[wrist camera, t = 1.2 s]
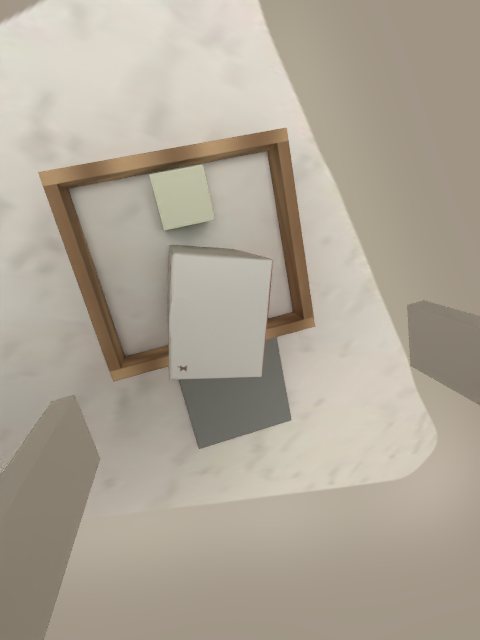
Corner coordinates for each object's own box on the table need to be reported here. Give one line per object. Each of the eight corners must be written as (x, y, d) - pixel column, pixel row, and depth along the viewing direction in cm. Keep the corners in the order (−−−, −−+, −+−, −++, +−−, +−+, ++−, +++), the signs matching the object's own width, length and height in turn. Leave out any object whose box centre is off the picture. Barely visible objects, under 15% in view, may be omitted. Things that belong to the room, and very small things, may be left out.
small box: (229, 326, 35) (263, 380, 22) (167, 326, 33) (166, 382, 21) (234, 247, 32) (275, 258, 20) (168, 243, 31) (169, 252, 19)
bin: (117, 368, 33) (113, 381, 30) (51, 178, 28) (38, 172, 25) (303, 318, 36) (314, 326, 33) (275, 137, 31) (286, 127, 28)
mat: (198, 445, 37) (198, 449, 37) (173, 358, 34) (173, 360, 34) (289, 417, 39) (291, 420, 38) (273, 331, 36) (275, 332, 35)
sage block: (164, 230, 31) (163, 230, 25) (152, 185, 30) (149, 174, 24) (206, 221, 31) (215, 219, 26) (196, 176, 30) (202, 164, 24)
